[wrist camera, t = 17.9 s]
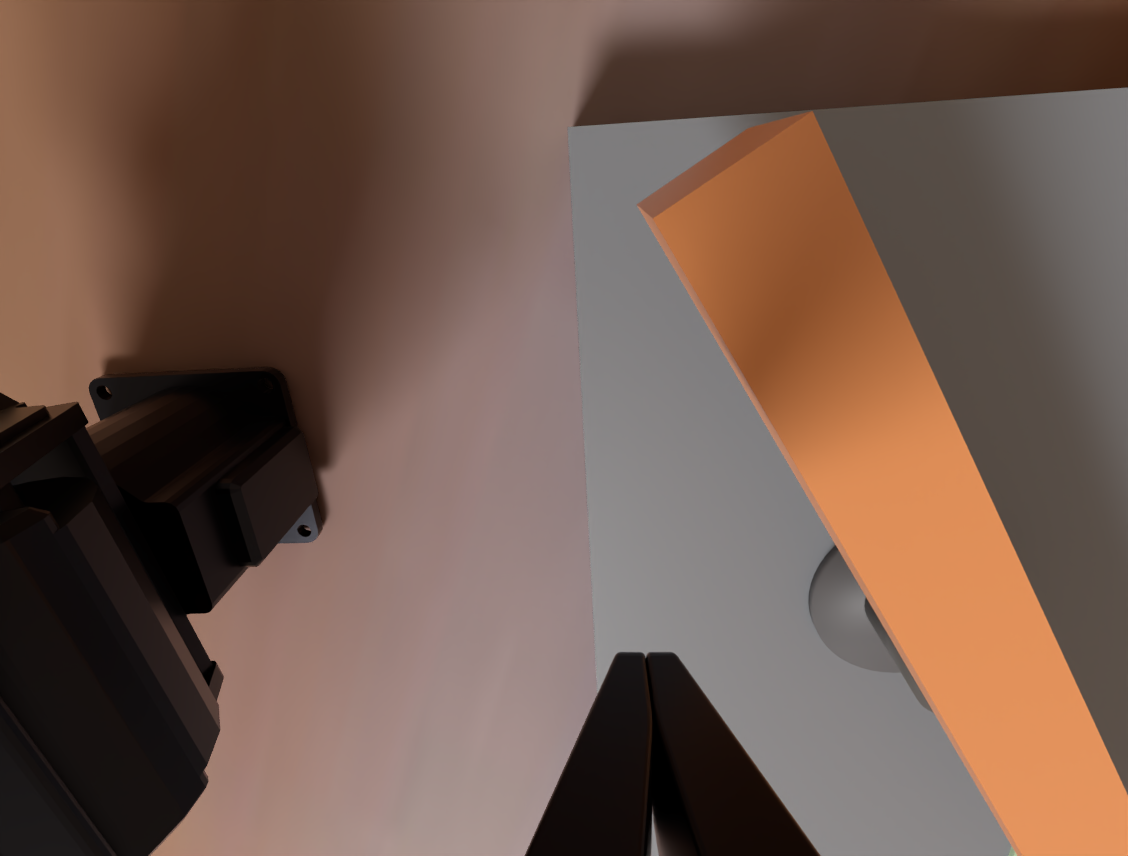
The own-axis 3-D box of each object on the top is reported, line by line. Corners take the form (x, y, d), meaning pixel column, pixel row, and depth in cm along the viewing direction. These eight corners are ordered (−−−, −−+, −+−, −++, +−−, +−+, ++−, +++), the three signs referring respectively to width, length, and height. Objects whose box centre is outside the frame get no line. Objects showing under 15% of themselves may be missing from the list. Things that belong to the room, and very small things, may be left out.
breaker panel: (605, 810, 28) (606, 876, 25) (571, 132, 17) (566, 125, 14) (1064, 813, 26) (1115, 882, 24) (1353, 77, 15) (1505, 59, 13)
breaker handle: (1014, 865, 24) (1171, 1126, 18) (620, 201, 15) (640, 226, 9) (1087, 843, 24) (1280, 1106, 17) (720, 132, 14) (827, 101, 8)
